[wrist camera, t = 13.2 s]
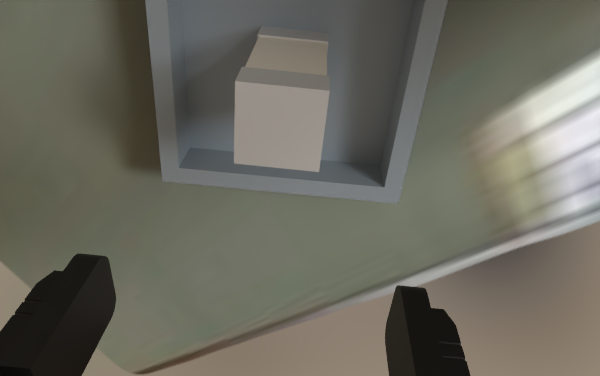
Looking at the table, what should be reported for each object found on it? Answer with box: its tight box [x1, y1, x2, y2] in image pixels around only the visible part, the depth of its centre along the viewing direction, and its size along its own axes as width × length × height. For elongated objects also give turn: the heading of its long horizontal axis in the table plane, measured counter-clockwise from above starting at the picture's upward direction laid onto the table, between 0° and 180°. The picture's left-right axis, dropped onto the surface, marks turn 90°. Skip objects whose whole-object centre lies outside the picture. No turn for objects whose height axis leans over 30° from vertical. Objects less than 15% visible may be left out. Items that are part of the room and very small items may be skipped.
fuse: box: [234, 26, 330, 172], centre depth 26 cm, size 4×4×10 cm
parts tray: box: [145, 0, 448, 204], centre depth 29 cm, size 16×16×4 cm
